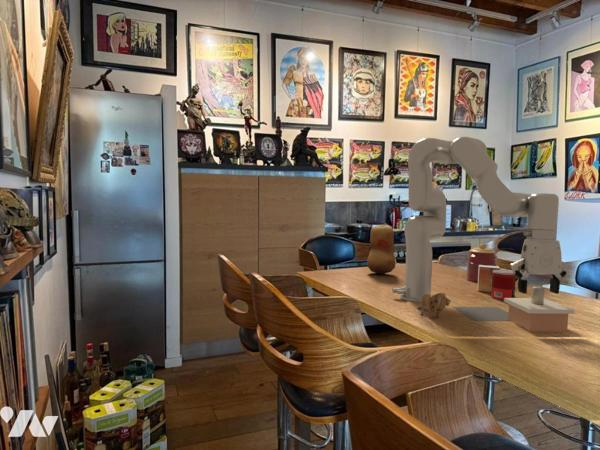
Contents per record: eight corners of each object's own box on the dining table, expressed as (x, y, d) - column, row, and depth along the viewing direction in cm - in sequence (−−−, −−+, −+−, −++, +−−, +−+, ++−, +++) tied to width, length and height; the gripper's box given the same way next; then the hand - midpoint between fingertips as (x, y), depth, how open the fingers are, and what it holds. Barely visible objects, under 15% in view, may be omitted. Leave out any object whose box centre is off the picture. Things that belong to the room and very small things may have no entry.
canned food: (517, 303, 148) (518, 273, 148) (494, 301, 150) (495, 272, 149) (510, 298, 156) (512, 270, 155) (488, 296, 157) (490, 269, 157)
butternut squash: (366, 276, 196) (368, 225, 194) (366, 271, 209) (368, 223, 208) (395, 277, 194) (397, 226, 192) (393, 272, 207) (395, 224, 205)
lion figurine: (452, 323, 122) (453, 294, 122) (437, 324, 121) (438, 295, 120) (424, 310, 136) (425, 284, 136) (410, 311, 135) (411, 284, 134)
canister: (501, 283, 184) (503, 245, 183) (473, 283, 184) (474, 245, 183) (488, 278, 197) (490, 242, 196) (461, 277, 197) (463, 242, 196)
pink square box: (529, 333, 114) (530, 312, 114) (508, 321, 125) (509, 302, 125) (567, 333, 114) (568, 312, 114) (542, 321, 125) (543, 302, 125)
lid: (529, 313, 113) (530, 292, 112) (503, 301, 126) (504, 282, 125) (573, 313, 113) (575, 292, 113) (544, 302, 126) (545, 283, 126)
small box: (477, 291, 167) (478, 266, 166) (477, 288, 172) (478, 264, 171) (499, 293, 164) (500, 267, 163) (497, 290, 169) (499, 265, 168)
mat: (474, 322, 123) (474, 320, 123) (452, 308, 139) (452, 306, 139) (525, 323, 124) (525, 321, 124) (497, 308, 140) (497, 307, 140)
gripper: (520, 236, 114) (517, 295, 115) (579, 237, 115) (575, 295, 116) (505, 233, 121) (503, 289, 122) (561, 234, 122) (557, 290, 123)
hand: (538, 292), depth 119 cm, fingers open, 9 cm apart
